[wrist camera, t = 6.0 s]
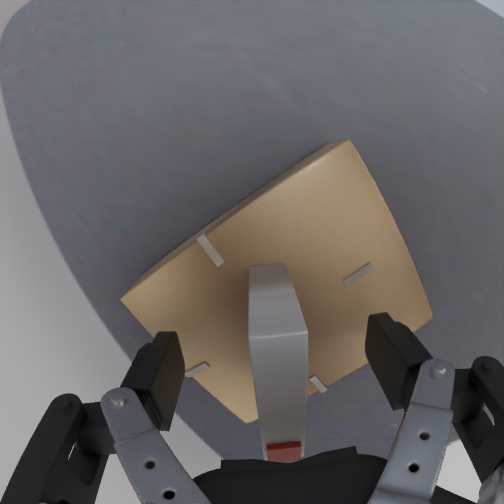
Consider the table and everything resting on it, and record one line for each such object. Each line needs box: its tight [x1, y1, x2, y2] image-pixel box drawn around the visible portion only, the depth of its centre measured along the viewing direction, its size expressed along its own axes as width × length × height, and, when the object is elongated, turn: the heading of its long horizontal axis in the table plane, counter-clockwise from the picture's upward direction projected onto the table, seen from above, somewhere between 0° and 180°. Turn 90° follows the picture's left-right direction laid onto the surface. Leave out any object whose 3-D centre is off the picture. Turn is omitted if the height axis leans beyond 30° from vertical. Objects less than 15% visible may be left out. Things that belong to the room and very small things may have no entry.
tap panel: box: [121, 139, 433, 423], centre depth 14 cm, size 12×10×3 cm
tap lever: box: [248, 264, 308, 462], centre depth 10 cm, size 6×2×5 cm, turn 5°
